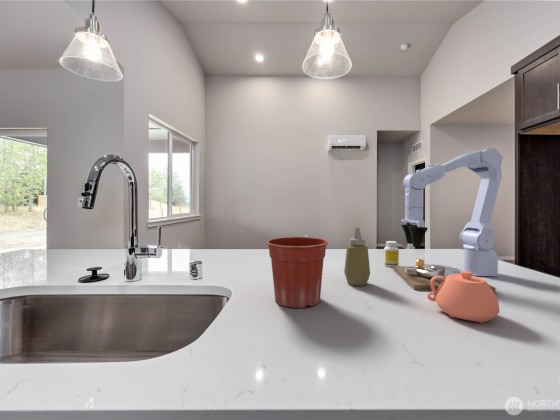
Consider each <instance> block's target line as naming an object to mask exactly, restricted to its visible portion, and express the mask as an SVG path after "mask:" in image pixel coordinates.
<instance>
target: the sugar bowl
mask: <svg viewBox="0 0 560 420" xmlns="http://www.w3.org/2000/svg"><path fill="white" fill-rule="evenodd" d="M472 275H473V273H472V272H469V271H460V274H451V275H449V276H447V277H446V278H445V277H443V276H435V277H433V278H432V279H431V282H430V284H431V288H432V291H430V292H428V293H427V299H428V300H430V301H431V302H436V304H437V306H438V307H439V308H440V310H441V311H442V312H444V313H446V314H448V317H450V318H453V319H454V318H455V319H458V318H459V319H461V320H465V321H470V322H475V323H480V324H484V323H485V322H489V321H491V320H493V319H494V318H496V317H497V316H499V313H500V304H499V300H498V298H497V296H496V293H494V292H493V290H492V289H491V287H490V286H489V285H490V284H489V283H488V282H487V281H486V280H485V279H484V278H482V277H480V276H472ZM436 279H442V280H444V281H443V282H442V283H441V285H440V286H439V288H438V290H437V291H436V290H435V287H434V281H435V280H436ZM488 284H489V285H488ZM431 295H433V297H432V296H431Z"/></svg>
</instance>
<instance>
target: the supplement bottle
mask: <svg viewBox="0 0 560 420" xmlns="http://www.w3.org/2000/svg"><path fill="white" fill-rule="evenodd" d="M385 245H386V246H385V247H384V248H383V251H384V252H383V265H384V266H385V267H387V268H393V266H399V256H400V255H399V254H400V253H399V247H398V242H397V241H395V240H386V241H385Z"/></svg>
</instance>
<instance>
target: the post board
mask: <svg viewBox="0 0 560 420" xmlns="http://www.w3.org/2000/svg"><path fill="white" fill-rule="evenodd" d="M392 268H393V269H392V270H393V271H394V272H395V274H397V275H398V276H399V277H400V278H401V279H402V280H403V281H404V282H405V283H407V285H408V286H409V287H411V288H412V289H413V290H414V291H430V292H432V288H431V284H430V282H431V279H432V277H427V276H423V275H420V274H417V273H406V272H405V268H414V266H399V265H398V266H393V267H392ZM437 276H443V277H445V270H440V269H438V270H437ZM443 281H444V280H442V279H436V280H435V281H434V287H435V290H436V292H437V290H438V288H439V286H440V285H441V283H442V282H443ZM488 285H489V286H490V287H491V289H492V290H493V292H494V294H496V290H497V288H496V287H495V286H493V285H491V284H489V283H488Z"/></svg>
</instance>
